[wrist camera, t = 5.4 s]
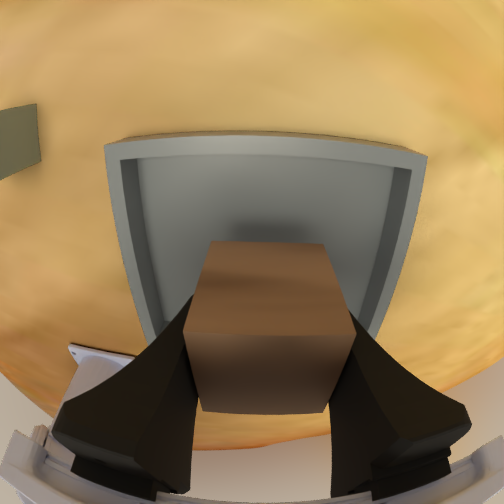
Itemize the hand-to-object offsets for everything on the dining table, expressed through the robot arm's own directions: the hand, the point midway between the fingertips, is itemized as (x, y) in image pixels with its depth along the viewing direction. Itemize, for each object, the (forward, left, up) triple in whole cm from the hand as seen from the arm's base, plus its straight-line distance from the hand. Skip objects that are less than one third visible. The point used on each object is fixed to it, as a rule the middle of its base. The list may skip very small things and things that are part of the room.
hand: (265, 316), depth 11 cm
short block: (0, 0, -2) cm, 2 cm away
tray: (0, 0, -6) cm, 6 cm away
